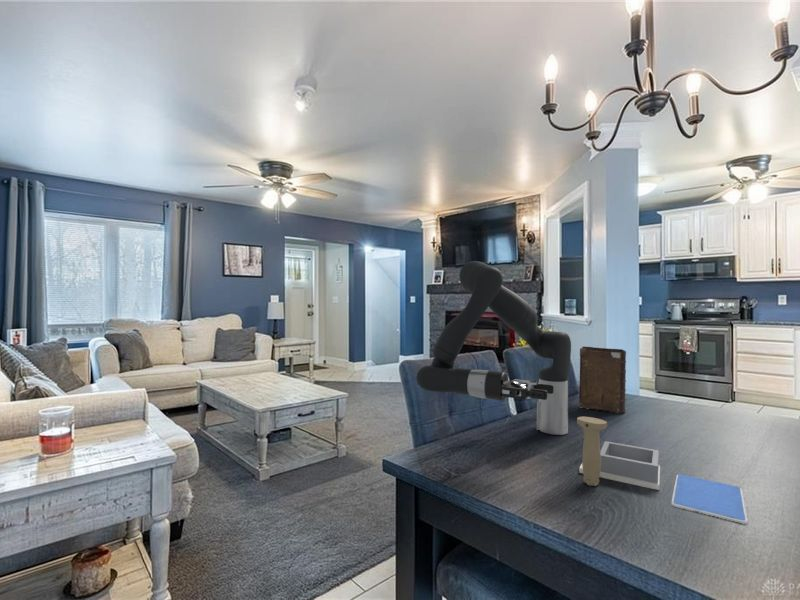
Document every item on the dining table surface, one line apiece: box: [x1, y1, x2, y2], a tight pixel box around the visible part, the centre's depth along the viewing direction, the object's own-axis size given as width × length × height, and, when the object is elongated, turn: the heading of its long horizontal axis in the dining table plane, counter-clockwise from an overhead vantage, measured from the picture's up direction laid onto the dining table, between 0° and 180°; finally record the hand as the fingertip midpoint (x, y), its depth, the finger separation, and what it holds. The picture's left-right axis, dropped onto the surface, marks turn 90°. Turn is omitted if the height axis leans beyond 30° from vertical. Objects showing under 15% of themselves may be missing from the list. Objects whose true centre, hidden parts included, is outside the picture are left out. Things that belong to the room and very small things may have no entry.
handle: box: [576, 416, 608, 487], centre depth 97 cm, size 5×6×15 cm
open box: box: [578, 440, 661, 491], centre depth 104 cm, size 17×14×5 cm
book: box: [578, 346, 627, 414], centre depth 165 cm, size 17×7×25 cm, turn 54°
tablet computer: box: [670, 474, 749, 525], centre depth 90 cm, size 19×13×1 cm, turn 143°
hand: (550, 392), depth 103 cm, fingers open, 8 cm apart
